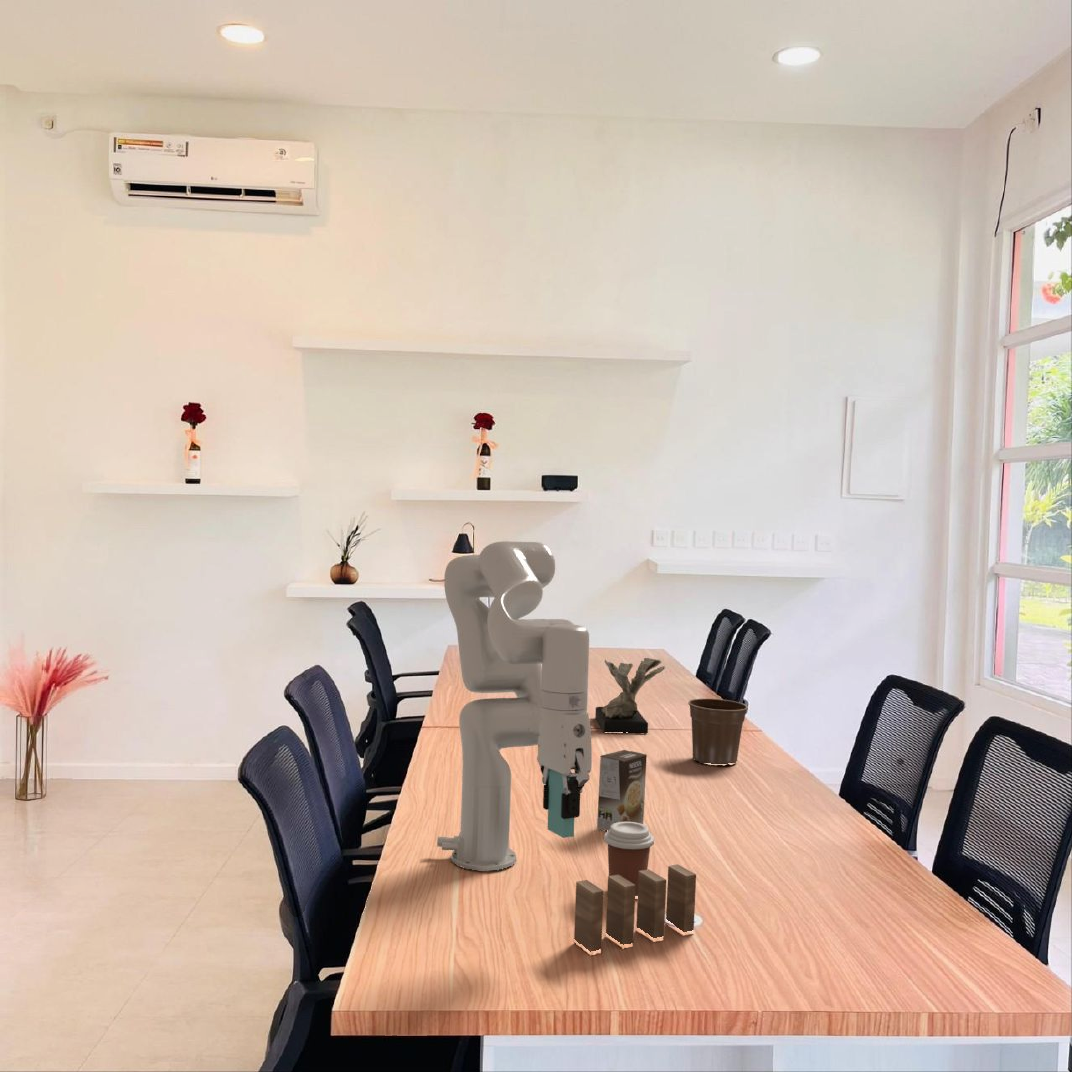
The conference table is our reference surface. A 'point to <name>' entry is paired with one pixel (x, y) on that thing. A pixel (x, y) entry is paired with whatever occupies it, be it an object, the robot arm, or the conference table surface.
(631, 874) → the coffee cup
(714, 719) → the plant pot
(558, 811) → the teal domino
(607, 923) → the domino
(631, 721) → the coral
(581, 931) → the domino
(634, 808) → the coffee box
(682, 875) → the domino
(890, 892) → the conference table surface
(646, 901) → the domino
